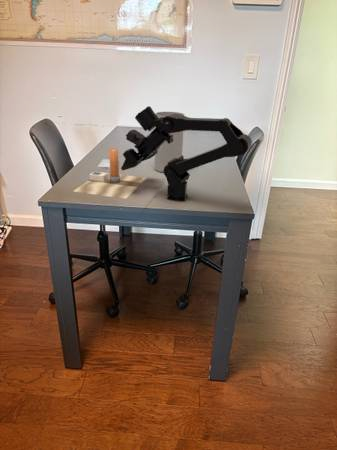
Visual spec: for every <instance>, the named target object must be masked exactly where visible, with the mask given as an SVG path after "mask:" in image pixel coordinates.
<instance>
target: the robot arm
mask: <svg viewBox="0 0 337 450" xmlns="http://www.w3.org/2000/svg"><path fill="white" fill-rule="evenodd" d="M134 119H135V120H136V122H137V123H138V124H139V125H140V127H141V128H142V129H143V130H144V131H145V132H146V131H148V132H150V133H149V134H148V135H147V136H145V135H144V134H143V133H141V132H140V131H138V130H137V129H131V130H129V131H128V132H127V133H126V134H125V136H126V140H127V141H129V142H130V143H132V144H133V145H134V148H135V149H134V148H128V149H127V150H125V151H124V152H123V154H122V156H123V157H124V158H125V159H124V162H123V164H122V166H121V168H120V169H121V170H122V171H126V170H129V169H133V168H136V167H137V166H139V165H140V164H141V163H142V162H145V161H147V160H149V159H151V158H153V157H155V155H156V154H157V153H158V150H157V149H159V148H160V146H161V145H162V144H163V143H164V142H165V141H167V142H168V144H169V143H171V142H173V135H170V134H169V133H175V132H181V131H183V132H185V131H200V132H201V131H202V132H219V133H220V134H221V135H222V137H223V139H224V141H225V142H226V143H224V144H222V145H221V146H220V145H219V146H218V147H216V148H213V149H210V150H207V151H205V152H202V153H200V154H197V155H194V156H192V157H189V158H188V157H187V158H184V155H183V154H182V156H181V157H179V158H174V159H173V160H171V161H169V162H168V163H167V164H168V165H166V166H165V167H164V173H163V175H164V177H165V178H166V181H167V194H166V195H167V196H166V197H167V198H166V199H167V200H171V201H172V200H173V201H180V202H185V200H186V199H187V197H188V193H187V192H188V191H187V190H188V180H189V178H190V176H191V175H190V173H189V172H188V171H190V170H193V169H196V168H199V167H201V166H204V165H206V164H210V163H212V162H215V161H218V160H220V159H225V158H234V157H240V156H244V155H245V154H246V153H247V152H248V151H249V150H250V149H251V147H252V145H253V141H252V138H251V136H249V135H247V134H246V133H244V132H243V131H242V130H241V128H239V127H237V126H236V125H235V123H234V124H233V122H232V121H231V120H230V119H229V118H227V117H224V118H210V117H209V118H208V117H207V118H206V117H200V118H199V117H196V118H195V117H189V116H186V115H184V116H183V115H179V114H172V115H169V116H166V117H161V118H158V117H157V115H156V112H154V110H153V108H152V107H151V106H150V105H149V106H146V107H145V108H144V109H143V110H141V111H139V112H138V113H137V114H136V115H135V117H134ZM155 127H156V128H155Z"/></svg>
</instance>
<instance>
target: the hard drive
mask: <svg viewBox="0 0 337 450" xmlns="http://www.w3.org/2000/svg"><path fill="white" fill-rule="evenodd" d="M118 162H119V163H120V159H118ZM97 169H98V170H110V158H103V159H102V160H101V161H100V163H99V164H98V165H97Z"/></svg>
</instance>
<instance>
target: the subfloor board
mask: <svg viewBox="0 0 337 450" xmlns="http://www.w3.org/2000/svg"><path fill="white" fill-rule="evenodd" d="M101 172H102V171H101ZM102 173H104V172H102ZM106 173H107V175H108V179H107V180H106V181H104V182H100V181H92V180H90V179H88V180H87V181H85V183H83V184H81V185H80V186H78V187H77V188H76V189H74V190H73V192H74V193H80V194H81V193H82V194H88V195H95V196H100V197H101V196H103V197H110V198H117V199H118V198H119V199H124V200H126V199H127V198H129V197H130V196H131V195H132V193H133V192H134V191H135V190H136V189H137V188H138V187H139V186H140V185H141V184H142V183H143V182H144V181H145V180H146V179H147V177H144V176H143V177H142V176H135V175H127V174H119V175H120V182H119V183H111V182H110V172H106Z"/></svg>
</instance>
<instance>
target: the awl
mask: <svg viewBox="0 0 337 450" xmlns="http://www.w3.org/2000/svg"><path fill="white" fill-rule="evenodd" d="M108 153H109V155H108V156H109V159H110V169H109V171H110V172H109V173H110V182H111V183H119V182H120V175H121V174H120V168H119V166H120V165H119V163H120V161H119V162H118V160H119V149H118V148H109V149H108Z"/></svg>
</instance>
